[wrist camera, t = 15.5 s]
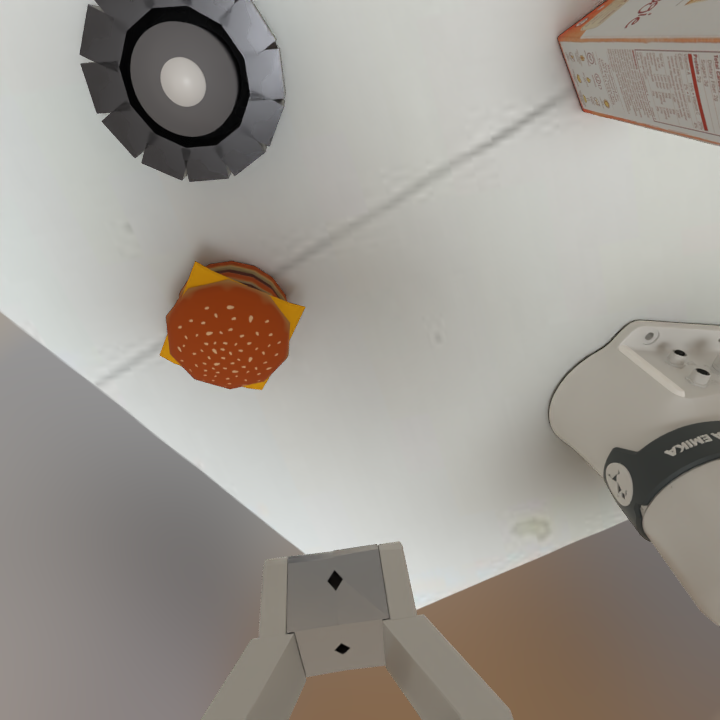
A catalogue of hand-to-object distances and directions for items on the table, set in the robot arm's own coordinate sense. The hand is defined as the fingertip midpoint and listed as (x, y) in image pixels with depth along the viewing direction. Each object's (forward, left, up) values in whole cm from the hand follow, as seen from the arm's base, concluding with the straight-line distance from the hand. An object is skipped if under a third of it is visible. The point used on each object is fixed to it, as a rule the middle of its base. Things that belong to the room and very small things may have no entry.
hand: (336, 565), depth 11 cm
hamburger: (+7, +9, -31) cm, 33 cm away
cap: (+6, -8, -30) cm, 32 cm away
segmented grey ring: (+6, -8, -31) cm, 32 cm away
